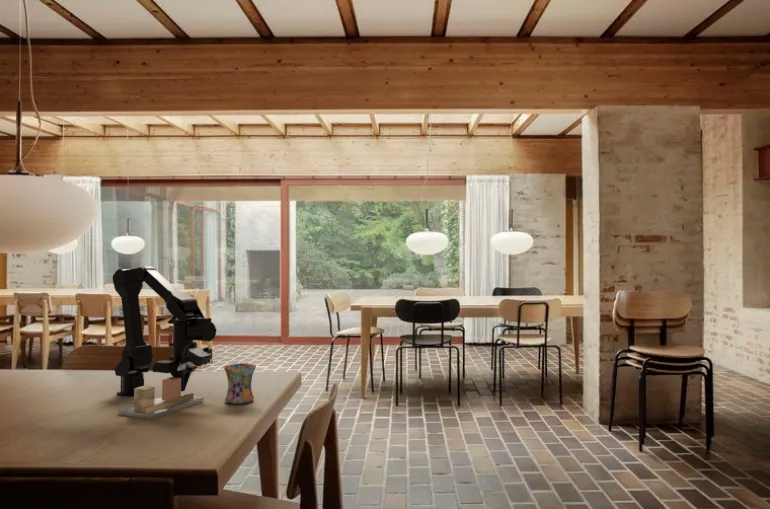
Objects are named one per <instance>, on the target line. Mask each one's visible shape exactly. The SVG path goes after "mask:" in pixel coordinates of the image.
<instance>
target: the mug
mask: <svg viewBox="0 0 770 509" xmlns="http://www.w3.org/2000/svg"><path fill="white" fill-rule="evenodd" d="M256 368H257V366H256V364H254V363H231V364H226V365H225V366H224V367H223V370H224V371H225V375H226V378H227V384H228V386H227V392H226V396H225V398H224V400H225V402H226V403H227V404H228V403H229V404H233V405H240V404H247V403H249V402H252V401H253V400H254V399H255V397H254V394H253V390H252V380H253V375H254V372H255V370H256Z"/></svg>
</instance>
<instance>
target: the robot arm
mask: <svg viewBox="0 0 770 509" xmlns="http://www.w3.org/2000/svg"><path fill="white" fill-rule="evenodd" d="M112 282H113V283H112V284H113V287H114V291H115V292H116V293H117V294H118V295H119V297H120V298H121V306H122V308H121V309H122V316H123V318H122V319H123V324H124V325H123V326H124V334H125V345H124V347H123V349H122V351H121V360H120V361H119V363H118V364H117V366H116V367H115V368H114V374H115V376H117V377H120V391H118V392H115V394H116V395H118V396H120V395H121V396H126V397H134V389H135V388H138V387H142V386H145V378H144V373H149V370H150V367H151V364H152V362H153V358H154V356H153V349H152V348H153V347H152V345H151V344H147V343H146V341H145V340H144V332H143V325H142V324H143V322H142V316H141V308H140V307H141V306H140V305H141V304H140V297H139V295H140V293H141V291H142V289H143V284H144V283H145V284H146V286H148V287H149V288H151V290H153V292H155V293H156V294H157V295H158V296H159V297H160V298H161V299H162V300H163V301H164V302H165V308H166V309H167V310H168V312H169V313H170V315H171V316H172V317H171V318H170V319H169V320H168V321H167V324H171V325H172V328H173V329H172V342H169V347H172V355H171V356H169V360H168V359H166V360H164V359H163V360H158V361H154V363H153V364H152V373H160V374H170V375H171V377H175V378H181V393H182V392H184V391H185V390H186V388H187V385H188V383H189V380H190V377H191V374H192V373H193V372H195V370H197V369H198V368H199V367H202V366H204V365H205V366H206V365H208V363H211V359H212V358H213V349H212V348H211V347H210V346H205V347H204V348H198V343H197V341H199V342H200V341H201V342H212V341H213V340H214V339H215V337H216V334H217V328H216V325H215V324H214V323H213V322H212V318H211V317H205V316H204V314H203V312H202V310H201V308H200V306H199V305H198V302H197V299H196V298H195V297H194V296H191V295H190V294H188V293H186V292H183V291H180V290H179V289H177V288H176V287H175V286H174V285H173V284H172V283H170V282H169V281H168V280H167V279H166V278H165V277H164V276H163V275H162V274H161V273H159V272H158V270H157V268H156V267H154V266H139V267H136V268H123V269H122V268H119V269H117V270H115V272H114V274H113V275H112Z"/></svg>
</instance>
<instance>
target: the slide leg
mask: <svg viewBox="0 0 770 509" xmlns="http://www.w3.org/2000/svg"><path fill="white" fill-rule="evenodd" d="M161 382H162V384H161V385H162V386H161V397H162V400H164V401H167V400H171V399H174V398H177V397H180V396H181V395H182V391H181V378H175V377H173V376H170V377H166V378H163V379H162V381H161Z"/></svg>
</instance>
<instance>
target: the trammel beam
mask: <svg viewBox="0 0 770 509" xmlns="http://www.w3.org/2000/svg"><path fill="white" fill-rule="evenodd" d="M155 388H156V387H155V386H149V385H144V386H142V387H138V388H135V389H134V396H133V405H134V411H140V412H145V413H148V412H151V411H154V410H157V409H160V408H163V407H166V406H169V405H172V404H175V403H178V402H181V401H184V400H187V399H190V398H193V397H194V396H195V394H194V392H189V393H186V394H182V395H183V396H180V397H177V398H174V399H171V400H167V401H164V402H161V403H158V404H155V405H154V399H155V398H156V396H155V393H156V391H155V390H156V389H155Z"/></svg>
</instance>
